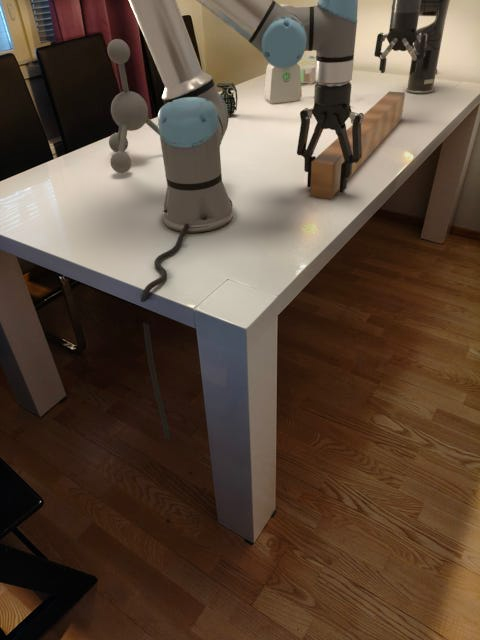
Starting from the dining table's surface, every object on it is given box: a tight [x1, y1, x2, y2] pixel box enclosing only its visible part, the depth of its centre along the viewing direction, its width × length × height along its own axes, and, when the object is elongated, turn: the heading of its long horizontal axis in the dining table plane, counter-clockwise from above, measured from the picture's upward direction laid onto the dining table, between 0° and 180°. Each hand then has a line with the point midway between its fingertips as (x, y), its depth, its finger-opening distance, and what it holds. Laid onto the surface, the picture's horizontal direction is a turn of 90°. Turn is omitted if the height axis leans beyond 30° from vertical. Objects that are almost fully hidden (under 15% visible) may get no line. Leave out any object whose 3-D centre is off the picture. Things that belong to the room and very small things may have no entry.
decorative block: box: [297, 55, 317, 85], centre depth 207 cm, size 26×6×20 cm
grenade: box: [215, 82, 238, 117], centre depth 166 cm, size 7×6×10 cm
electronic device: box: [263, 3, 303, 104], centre depth 173 cm, size 12×8×30 cm, turn 105°
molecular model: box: [107, 38, 159, 174], centre depth 130 cm, size 24×22×30 cm
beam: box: [309, 91, 406, 200], centre depth 133 cm, size 66×5×8 cm, turn 152°
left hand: (326, 187), depth 115 cm, fingers open, 7 cm apart
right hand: (396, 73), depth 146 cm, fingers open, 8 cm apart
